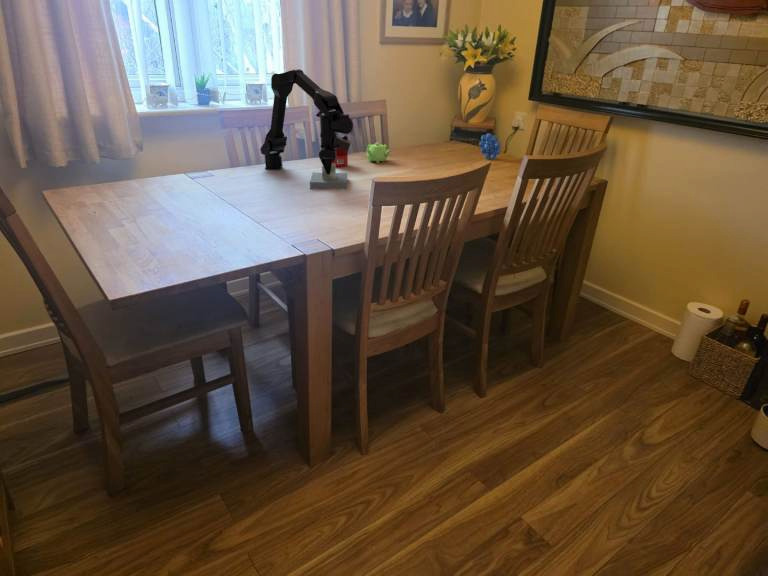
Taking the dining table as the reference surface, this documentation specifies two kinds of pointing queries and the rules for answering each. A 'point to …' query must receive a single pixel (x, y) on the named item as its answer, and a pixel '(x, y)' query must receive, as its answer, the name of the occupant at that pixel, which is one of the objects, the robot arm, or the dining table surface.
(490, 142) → the grapes
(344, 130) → the robot arm
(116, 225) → the dining table surface
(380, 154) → the green rounded lump
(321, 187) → the base slab
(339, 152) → the canned food
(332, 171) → the sage block
